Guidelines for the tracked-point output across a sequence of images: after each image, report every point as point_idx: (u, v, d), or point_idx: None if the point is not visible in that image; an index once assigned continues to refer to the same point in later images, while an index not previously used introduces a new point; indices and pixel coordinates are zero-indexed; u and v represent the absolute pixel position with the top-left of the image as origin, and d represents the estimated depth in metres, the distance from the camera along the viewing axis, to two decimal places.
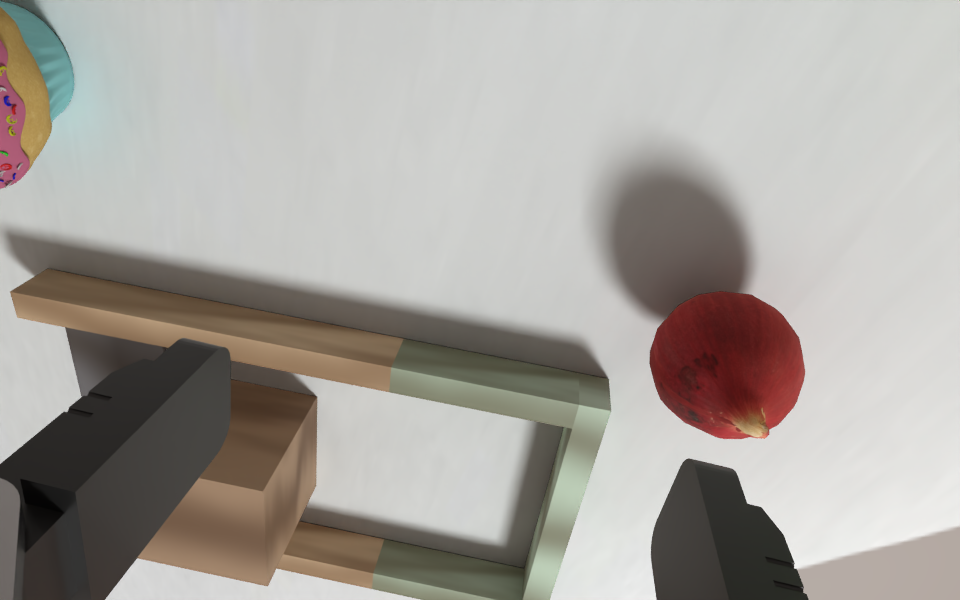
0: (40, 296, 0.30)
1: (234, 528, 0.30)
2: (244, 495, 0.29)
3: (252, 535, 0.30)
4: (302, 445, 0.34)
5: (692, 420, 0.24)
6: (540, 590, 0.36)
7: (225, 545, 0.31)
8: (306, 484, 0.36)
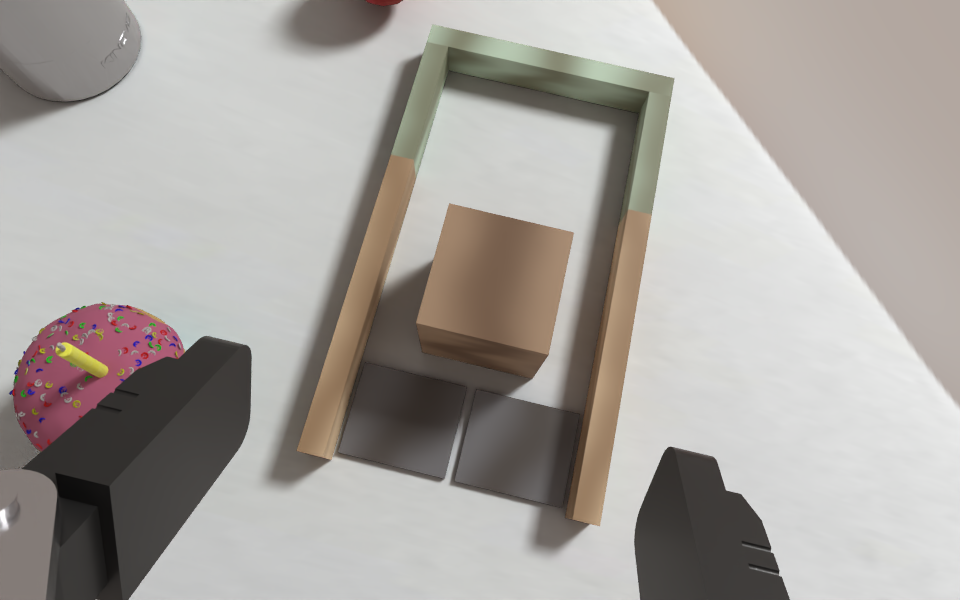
0: (305, 424, 0.35)
1: (496, 241, 0.34)
2: (455, 220, 0.34)
3: (504, 227, 0.34)
4: None
5: None
6: (626, 75, 0.43)
7: (520, 256, 0.34)
8: None
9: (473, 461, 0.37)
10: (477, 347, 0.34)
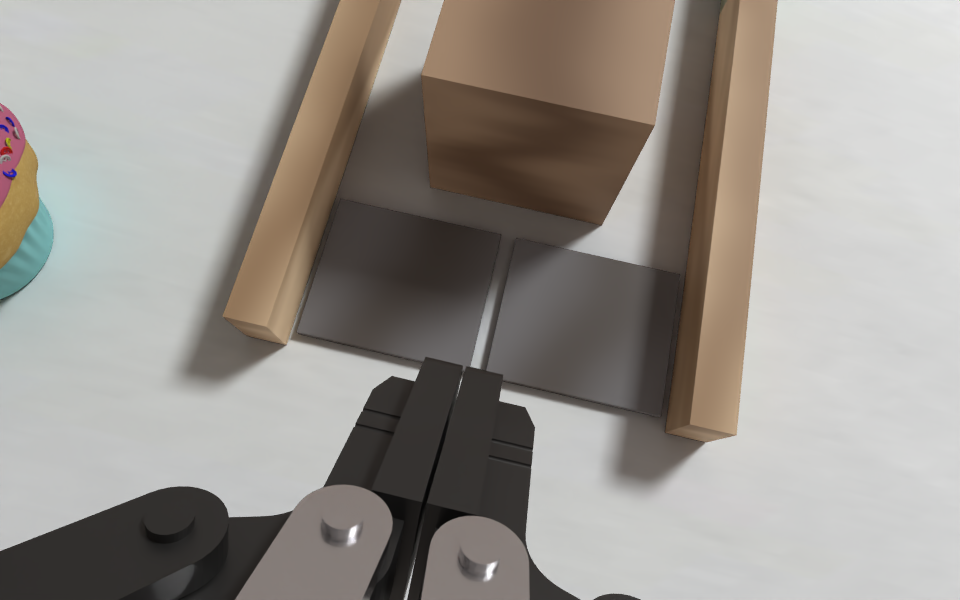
0: (238, 276, 0.21)
1: None
2: None
3: None
4: None
5: None
6: None
7: None
8: None
9: (514, 345, 0.23)
10: (524, 138, 0.20)
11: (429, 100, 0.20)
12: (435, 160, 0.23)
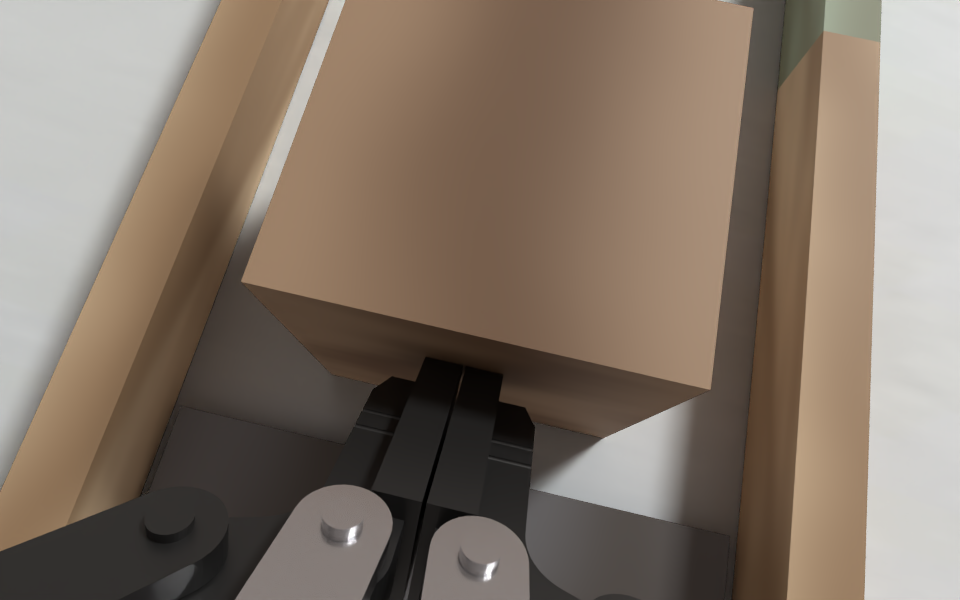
0: None
1: (517, 30, 0.11)
2: None
3: None
4: None
5: None
6: None
7: (594, 74, 0.11)
8: None
9: None
10: (460, 363, 0.11)
11: (276, 308, 0.10)
12: (324, 357, 0.14)
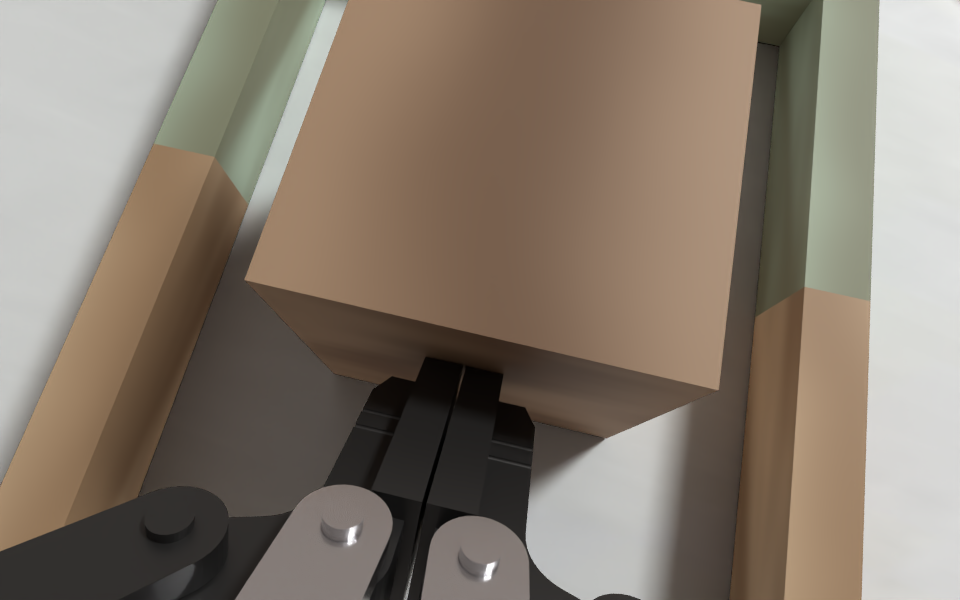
0: None
1: (523, 27, 0.11)
2: None
3: None
4: None
5: None
6: None
7: (601, 71, 0.10)
8: None
9: None
10: (465, 363, 0.11)
11: (279, 307, 0.10)
12: (327, 356, 0.14)
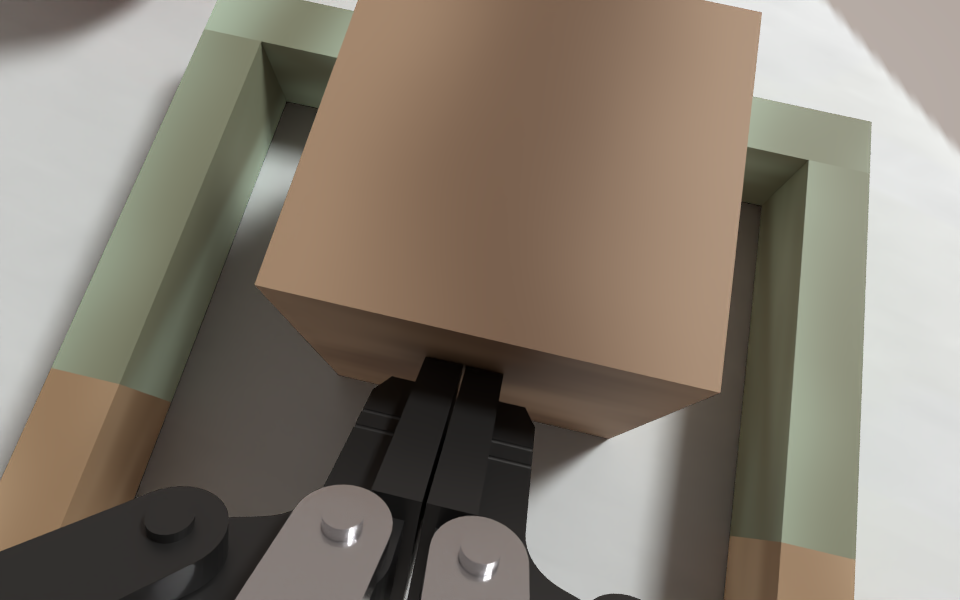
0: None
1: (527, 34, 0.11)
2: None
3: None
4: None
5: None
6: None
7: (604, 78, 0.11)
8: None
9: None
10: (470, 365, 0.11)
11: (287, 311, 0.10)
12: (333, 358, 0.14)
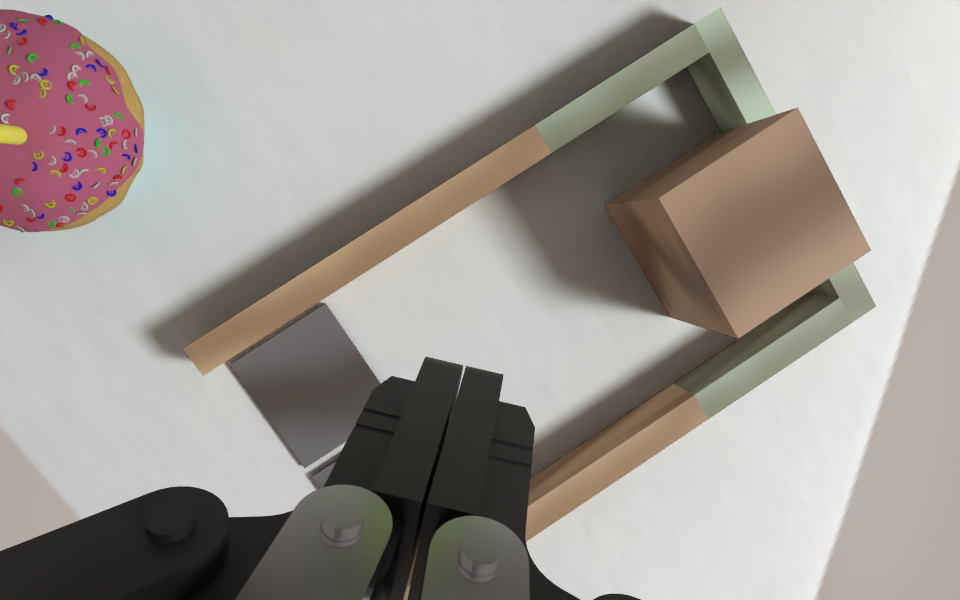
0: None
1: (800, 190, 0.26)
2: (786, 130, 0.26)
3: (820, 183, 0.26)
4: None
5: None
6: None
7: (805, 226, 0.27)
8: None
9: None
10: (675, 264, 0.28)
11: (649, 203, 0.27)
12: (621, 208, 0.30)
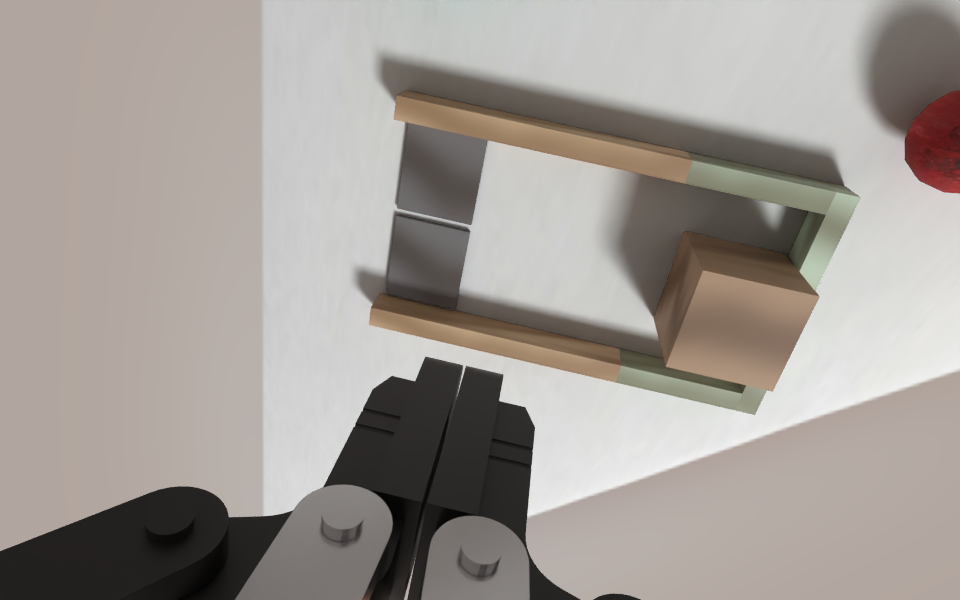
0: (419, 100, 0.40)
1: (773, 333, 0.39)
2: (800, 301, 0.37)
3: (786, 340, 0.39)
4: None
5: (956, 170, 0.34)
6: None
7: (755, 351, 0.39)
8: None
9: (412, 230, 0.46)
10: (679, 303, 0.41)
11: (698, 265, 0.38)
12: (688, 246, 0.42)
